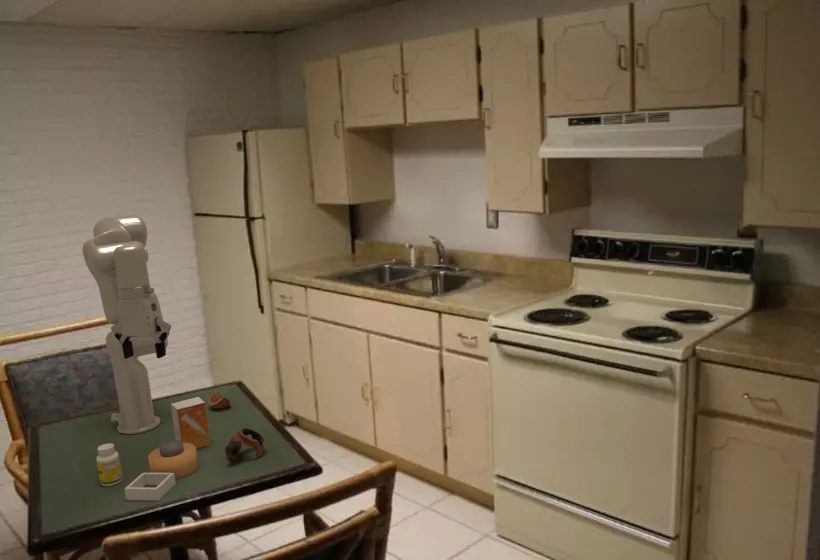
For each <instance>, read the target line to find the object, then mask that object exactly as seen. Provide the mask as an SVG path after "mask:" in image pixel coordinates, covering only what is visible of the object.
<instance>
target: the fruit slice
mask: <svg viewBox="0 0 820 560" xmlns="http://www.w3.org/2000/svg"><path fill="white" fill-rule="evenodd" d="M207 404H208V405H209V406H210V407H211V408H214V409H224V408H225V407H227V406H228V405H230V404H231V400H230V399H229V398H226V397H225V396H224V395H222V394H220V393H219V392H218V391H216V390H213V391H212V393H211V394H210V396H209V397H208V401H207ZM223 407H224V408H223Z"/></svg>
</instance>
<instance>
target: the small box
mask: <svg viewBox="0 0 820 560" xmlns="http://www.w3.org/2000/svg"><path fill="white" fill-rule="evenodd" d="M206 407H207V406H206V402H205V401H204V400H203V399H201V397H199V396H197V397H193V398H187V399H184V400H181V401H177V402H173V403H170V409H171V414H172V415H171V416H172V422H173V423H172V424H173V431H174V436H175V440H178V441H182V442H183V443H190V444H193V445H195V447H196V450H197V449H201V448H203V447H204V448H205V447H209V446H211V439H210V438H211V437H210V431H209V430H210V429H209V422H208V415H207V409H206Z"/></svg>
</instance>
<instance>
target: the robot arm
mask: <svg viewBox="0 0 820 560" xmlns="http://www.w3.org/2000/svg"><path fill="white" fill-rule="evenodd" d="M92 232H93V233H92V234H93V236H94V237H93V238H90V239H89V240H87V241H85V242H84V243H83V245H82V255H83V258H84V259H83V260H84V262H85V265H86V266H87V268H88V271H89V272H90V274H91V275H92V277H93V278H94V280H95V282H96V284H97V286H98V290H99V295H100V300H101V303H102V307H103V313H104V316H105V319H106V321H107V322H108V324H110V325H111V327H110V330H111V331H109V332H108V333H107V335H106V337H105V347H106V351H107V352H108V355H109V359H110V361H111V362H110V363H111V366H112V370H113V375H114V382H115V383H114V384H115V388H116V395H117V401H118V407H119V412H112V413H111V416H110V421H111V422H117V423H118V425H117V426H116V429H117V432H118V433H121V434H125V435H134V434H140V433H145V432H148V431H150V430H153V429H155V428H157V427H158V426H159V425H160V424H161V417H160V416H157V415H155V413H154V407H153V406H154V405H153V400H152V399H153V398H152V393H151V387H150V386H151V385H150V379H149V372H148V369H147V367H146V366H145V364H143V362H141V361H140V360H139V359H137V358H139V357H141V356H142V357H143V356H146V355H151V354H153V355H154V354H155V355H156V358H157V359H161V358H163V357H165V356H166V355H167V353H166V352H167V348H168V345H169V344H168V343H169V340H168V339H169V338H168V337H169V335H170V332H171V328H172V325H171V324H170V323H168V322H167V321H164V317H163V314H162V308H161V304H160V301H159V299H158V296H157V295H156V293H155V289H154V288H153V287H151V284H150V278H149V277H150V276H149V272H148V271H149V270H148V264H147V263H148V262H149V252H148V248H147V247H146V246H147V240H148V228H147V224H146V222H145V221H144V219H143V218H142V217H141V216H139V215H137V214H131V215H122V216H121V215H120V216H112V217H105V218H102V219H100V220H98V221H97V222H96V223H95V225H94V227H93V231H92Z"/></svg>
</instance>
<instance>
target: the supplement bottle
mask: <svg viewBox="0 0 820 560" xmlns="http://www.w3.org/2000/svg"><path fill="white" fill-rule="evenodd" d="M97 453H98V455H97V456H96V465H97V466H96V467H97V472H98V476H99V482H100V485H102V486H103V487H110V486H114V485H117V484H119V483H120V482H122V480H123V473H122V472H123V471H122V466H121V461H120V455H119V453H118V451H116V449H115V444H114V443H104V444H101V445H99V446H98V447H97Z"/></svg>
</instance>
